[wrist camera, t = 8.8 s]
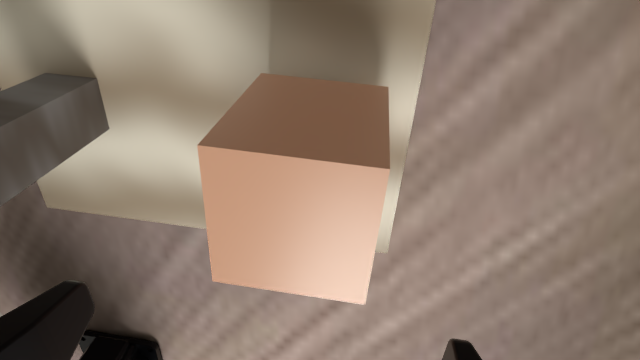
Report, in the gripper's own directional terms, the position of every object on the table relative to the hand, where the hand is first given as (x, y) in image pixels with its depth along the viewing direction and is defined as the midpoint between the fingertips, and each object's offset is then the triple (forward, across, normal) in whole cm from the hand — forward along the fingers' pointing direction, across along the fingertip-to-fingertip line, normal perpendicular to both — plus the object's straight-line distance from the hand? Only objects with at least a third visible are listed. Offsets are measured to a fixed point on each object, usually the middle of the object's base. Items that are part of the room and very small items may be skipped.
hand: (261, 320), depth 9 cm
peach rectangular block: (+10, 0, 0) cm, 10 cm away
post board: (+12, +6, 0) cm, 13 cm away
